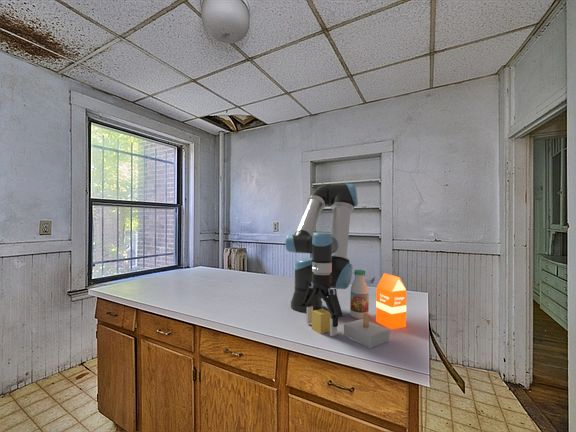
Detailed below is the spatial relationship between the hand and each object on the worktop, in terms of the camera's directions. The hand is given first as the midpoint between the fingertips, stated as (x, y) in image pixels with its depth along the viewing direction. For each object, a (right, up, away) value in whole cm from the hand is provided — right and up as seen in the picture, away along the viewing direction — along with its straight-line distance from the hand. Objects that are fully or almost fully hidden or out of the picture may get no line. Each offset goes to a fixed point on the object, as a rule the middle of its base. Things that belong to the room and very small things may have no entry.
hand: (320, 328), depth 105 cm
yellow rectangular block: (0, -1, 0) cm, 1 cm away
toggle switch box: (+15, -1, -6) cm, 17 cm away
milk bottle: (+19, -1, +15) cm, 24 cm away
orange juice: (+29, -1, +7) cm, 30 cm away
